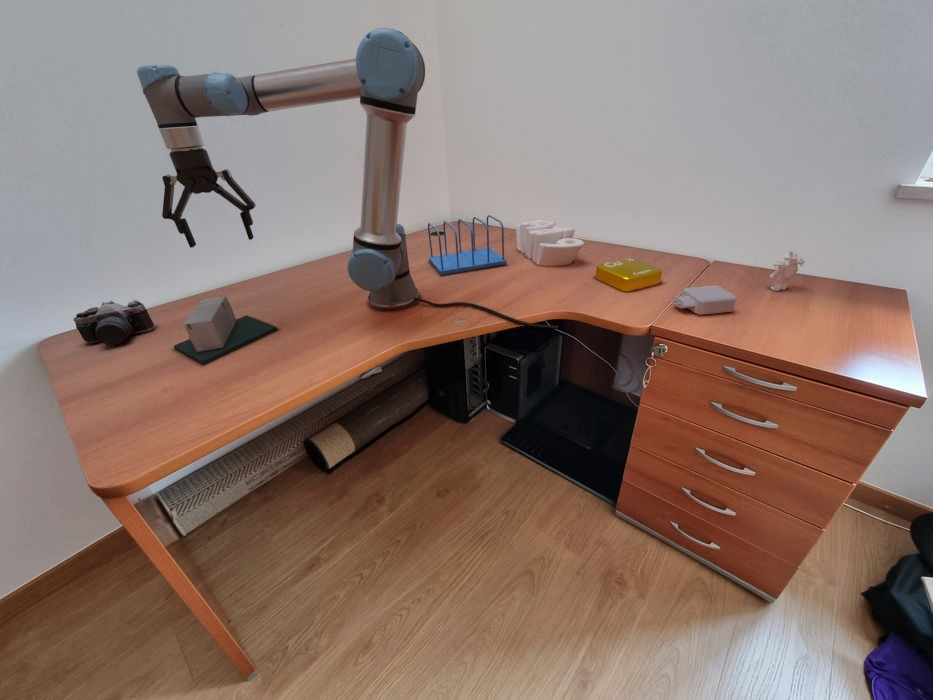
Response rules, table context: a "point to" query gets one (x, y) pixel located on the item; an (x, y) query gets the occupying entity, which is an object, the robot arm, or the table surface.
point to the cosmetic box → (210, 324)
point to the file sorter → (466, 252)
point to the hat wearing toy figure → (786, 270)
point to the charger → (706, 300)
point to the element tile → (628, 274)
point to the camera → (113, 322)
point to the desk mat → (230, 339)
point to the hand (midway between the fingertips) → (222, 242)
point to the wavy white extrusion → (547, 243)
